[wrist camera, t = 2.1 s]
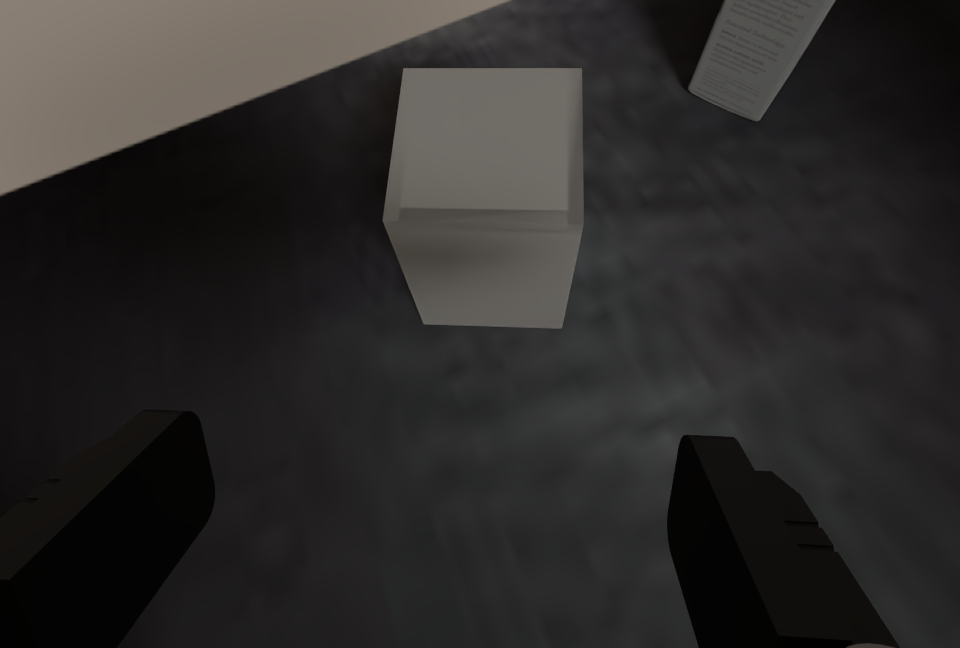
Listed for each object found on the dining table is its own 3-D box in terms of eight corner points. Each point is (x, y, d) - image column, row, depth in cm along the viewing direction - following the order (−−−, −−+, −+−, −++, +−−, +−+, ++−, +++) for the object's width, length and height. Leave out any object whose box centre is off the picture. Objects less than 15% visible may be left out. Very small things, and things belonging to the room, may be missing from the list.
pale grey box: (562, 209, 29) (581, 68, 20) (561, 328, 26) (583, 224, 18) (435, 207, 29) (403, 68, 21) (423, 324, 27) (382, 220, 18)
